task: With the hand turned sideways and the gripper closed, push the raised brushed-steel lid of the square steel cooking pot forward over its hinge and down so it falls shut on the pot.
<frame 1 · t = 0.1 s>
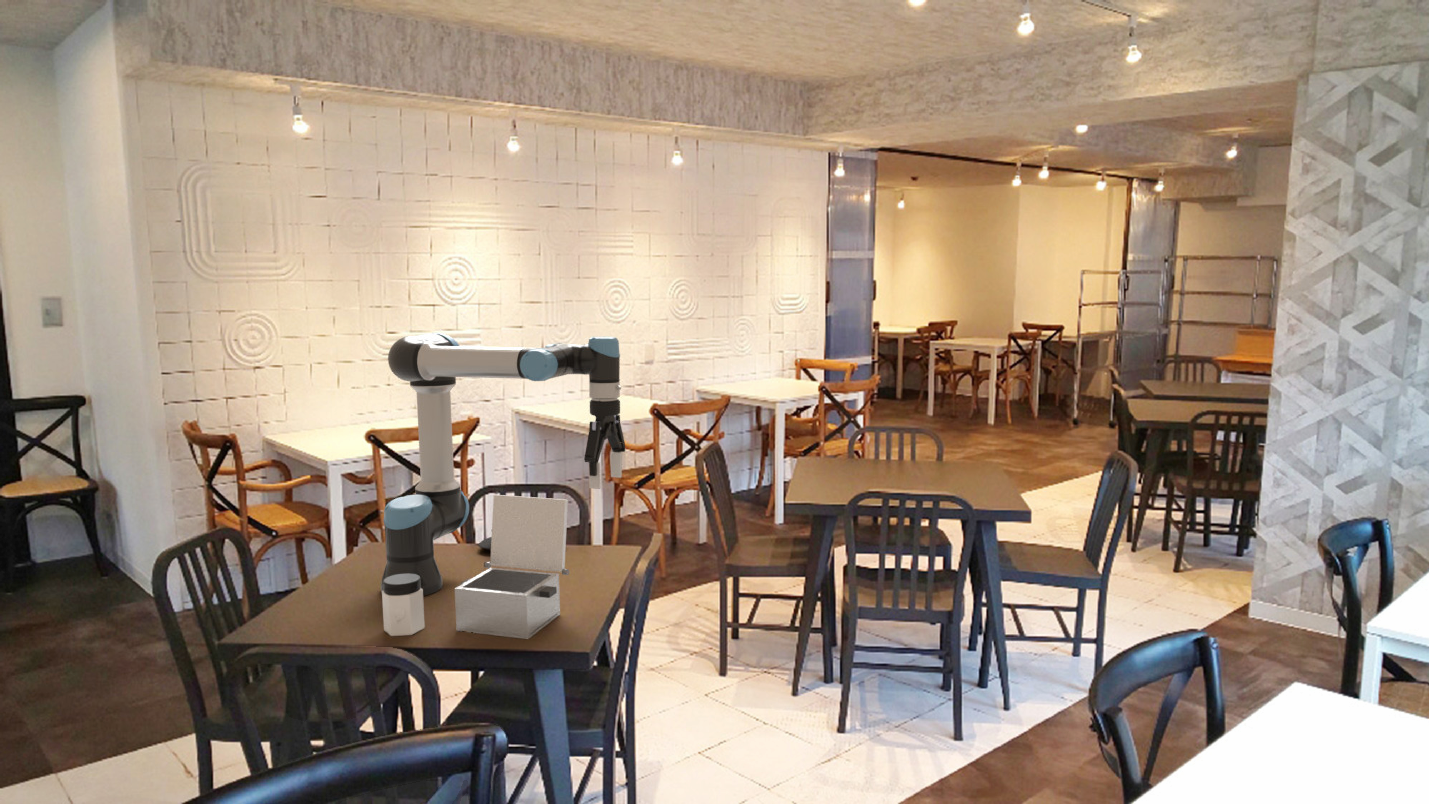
hand: (605, 482, 242), 28 cm above the table, tool pointing down, fingers open, 13 cm apart
jar: (404, 630, 219), on the table
casserole: (521, 549, 283), on the table
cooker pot: (526, 610, 231), on the table
lid: (530, 532, 232), point 18 cm above the table, hinge at 100.0°
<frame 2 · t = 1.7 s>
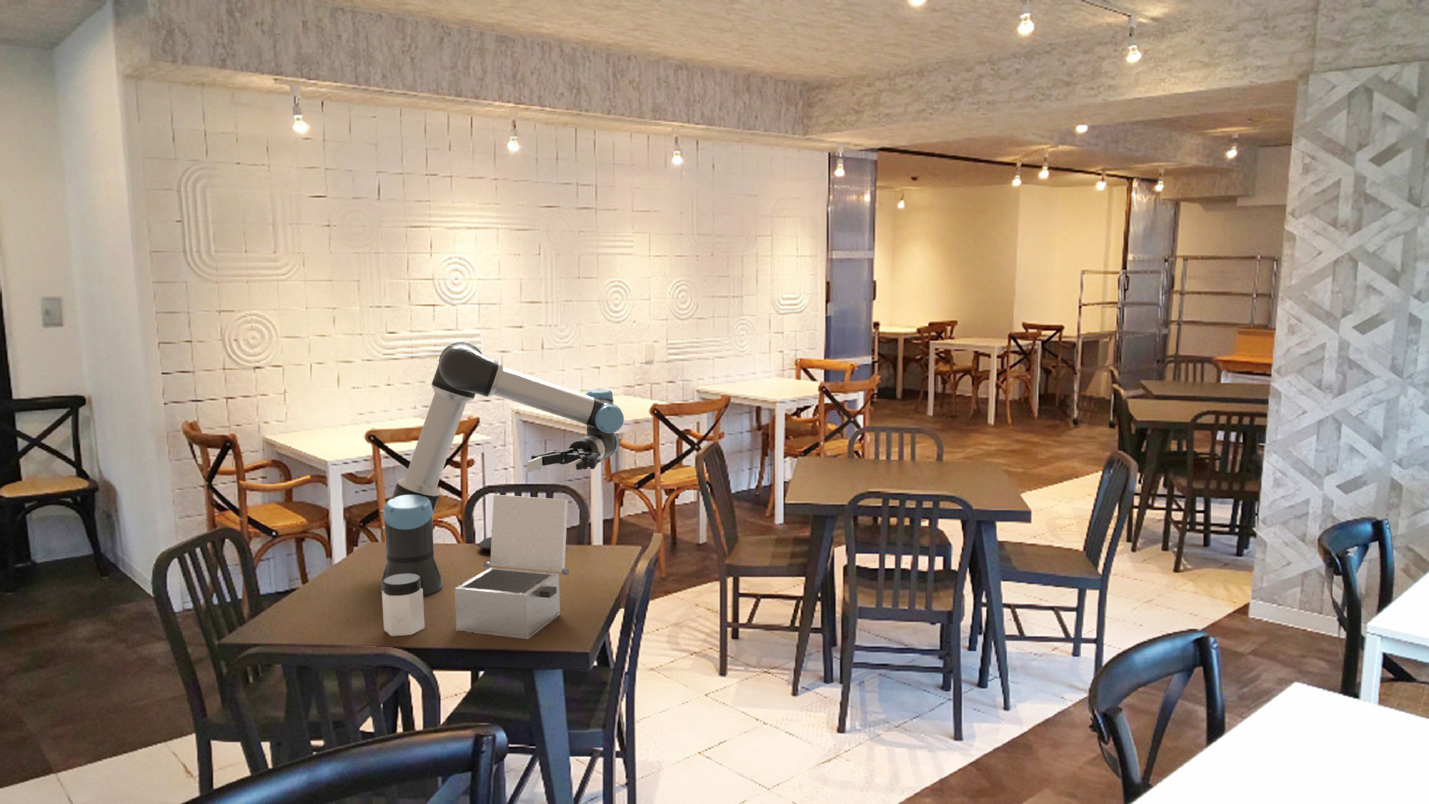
hand: (548, 468, 240), 32 cm above the table, tool horizontal, fingers open, 10 cm apart
nothing on the table moved.
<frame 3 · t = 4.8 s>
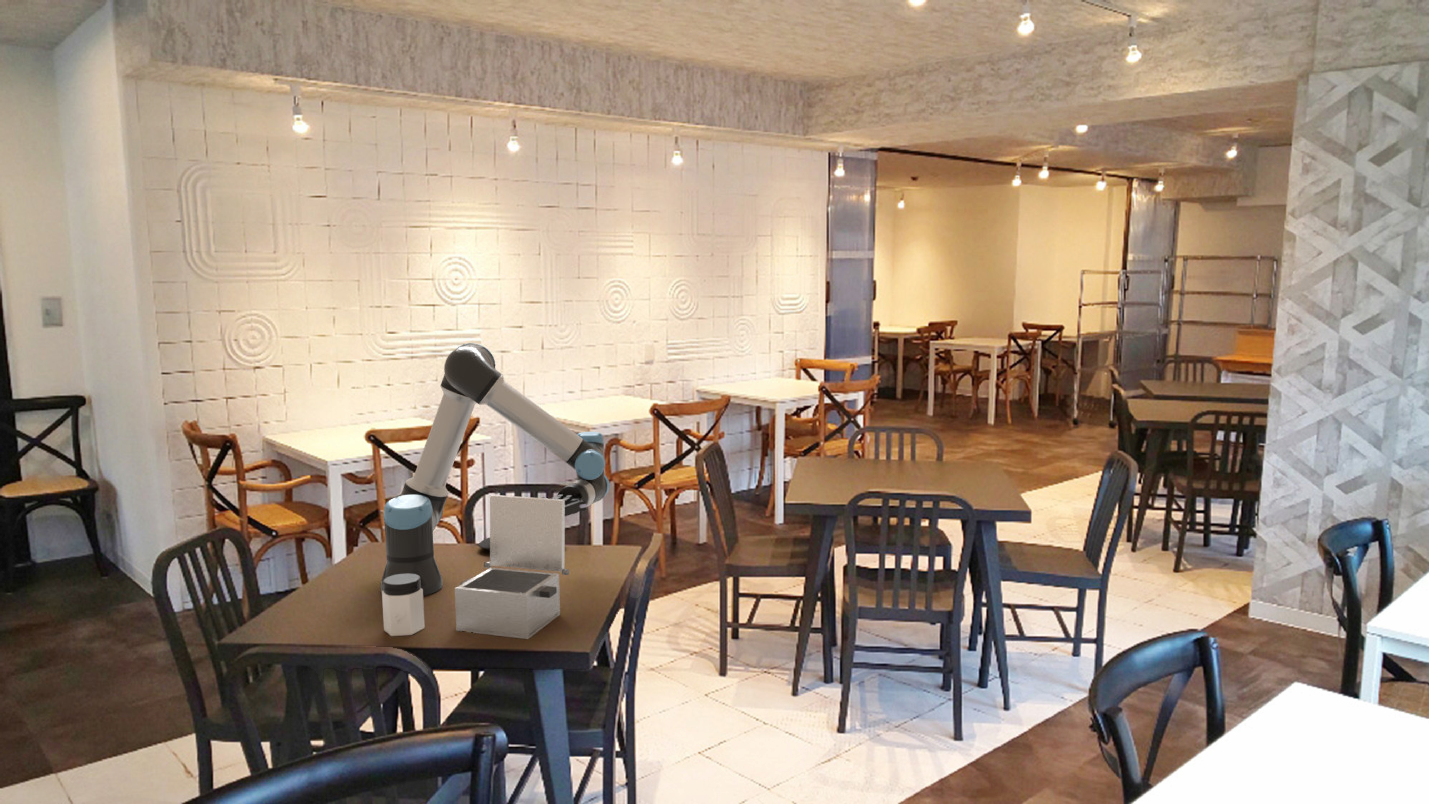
hand: (534, 519, 232), 21 cm above the table, tool horizontal, fingers closed
lid: (528, 532, 231), point 19 cm above the table, hinge at 94.1°, touching gripper
everything else where it was.
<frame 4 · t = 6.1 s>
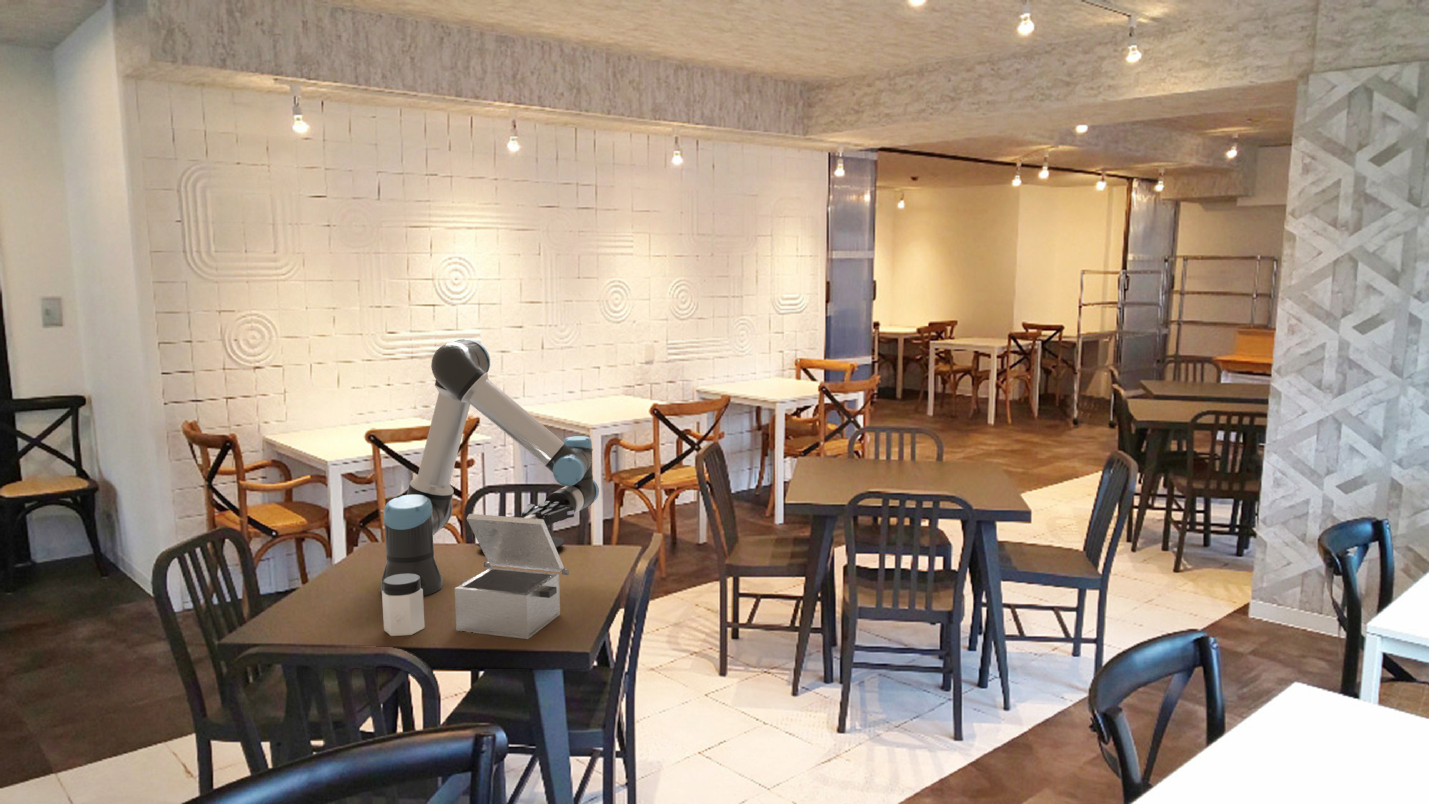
hand: (520, 526, 226), 21 cm above the table, tool horizontal, fingers closed
lid: (517, 540, 226), point 18 cm above the table, hinge at 55.7°, touching gripper
everything else where it was.
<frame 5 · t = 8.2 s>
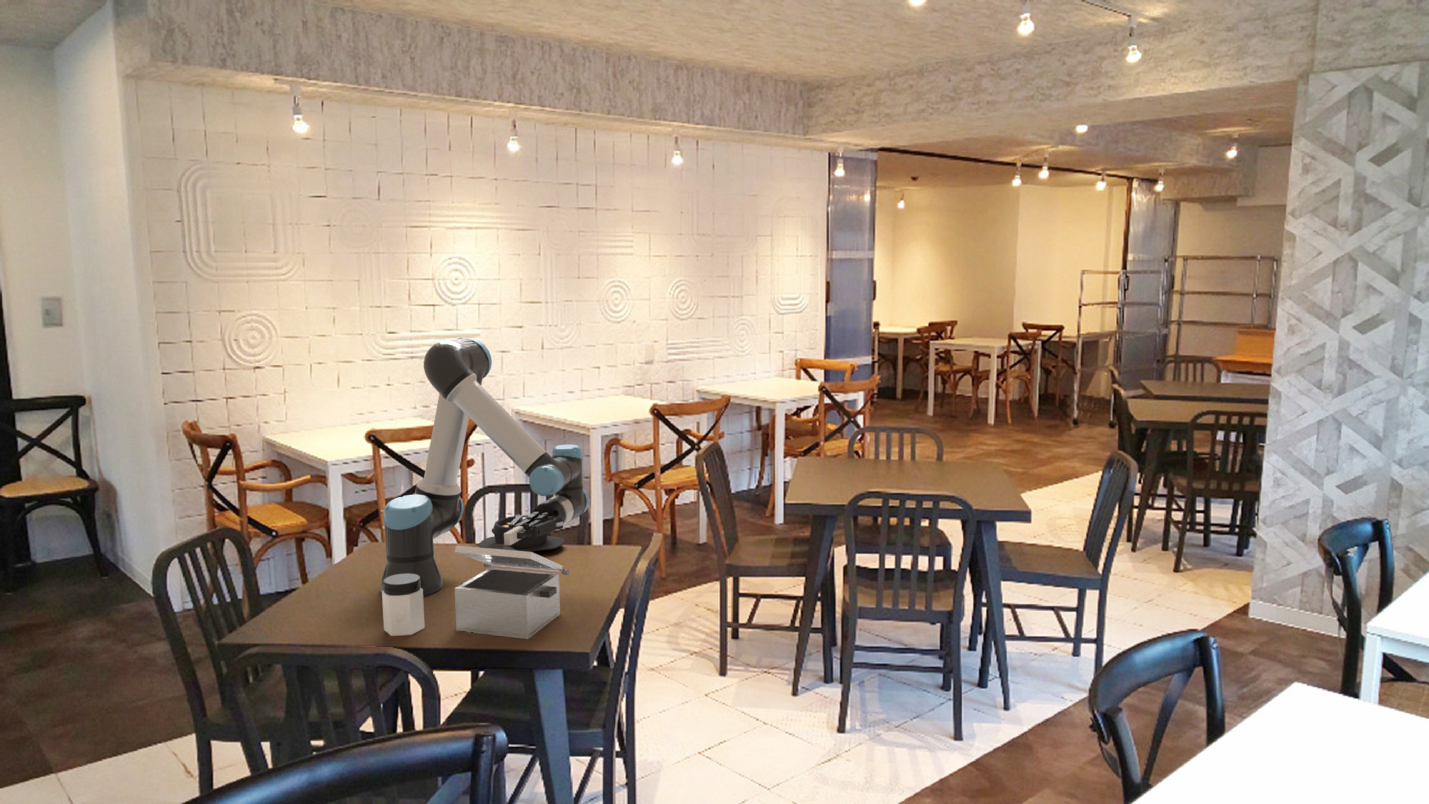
hand: (507, 539, 219), 20 cm above the table, tool horizontal, fingers closed
lid: (510, 555, 223), point 16 cm above the table, hinge at 27.0°
everything else where it was.
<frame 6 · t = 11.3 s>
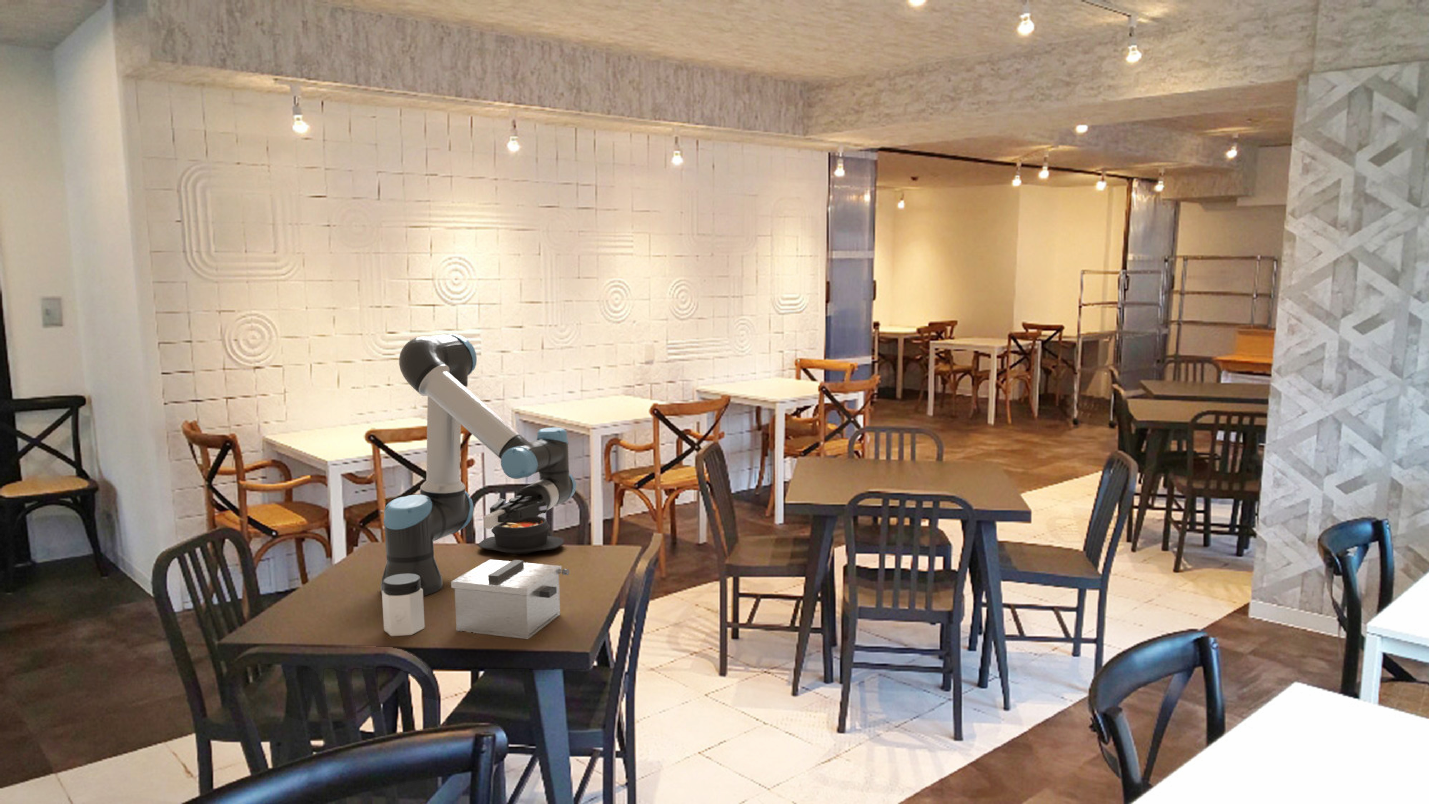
hand: (487, 522, 212), 26 cm above the table, tool horizontal, fingers closed
lid: (507, 573, 222), point 12 cm above the table, hinge at -0.1°
everything else where it was.
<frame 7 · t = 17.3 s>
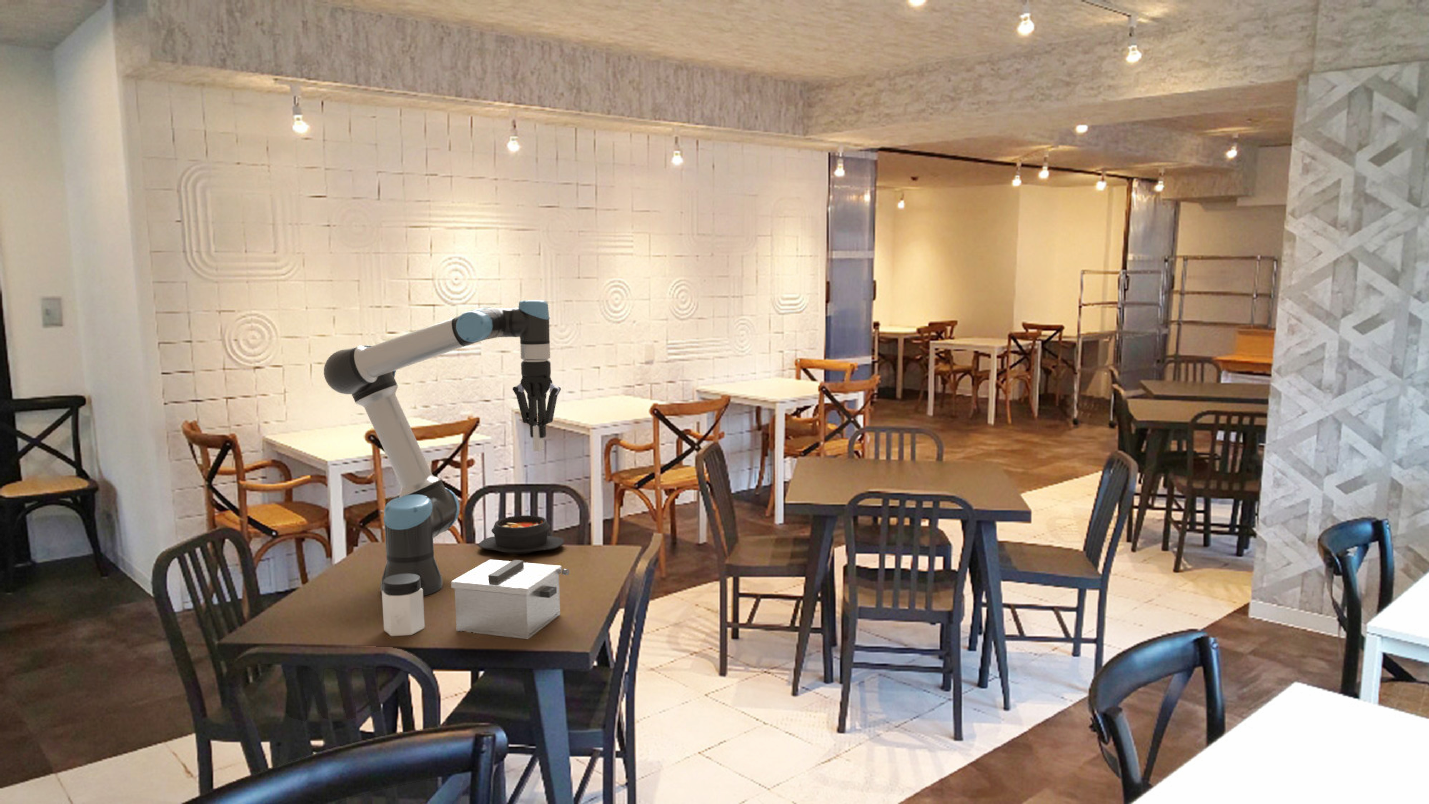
hand: (538, 449, 252), 34 cm above the table, tool pointing down, fingers closed
nothing on the table moved.
at the end: lid at +0° (first picture: +100°); jar moved 0.2 cm from its start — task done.
